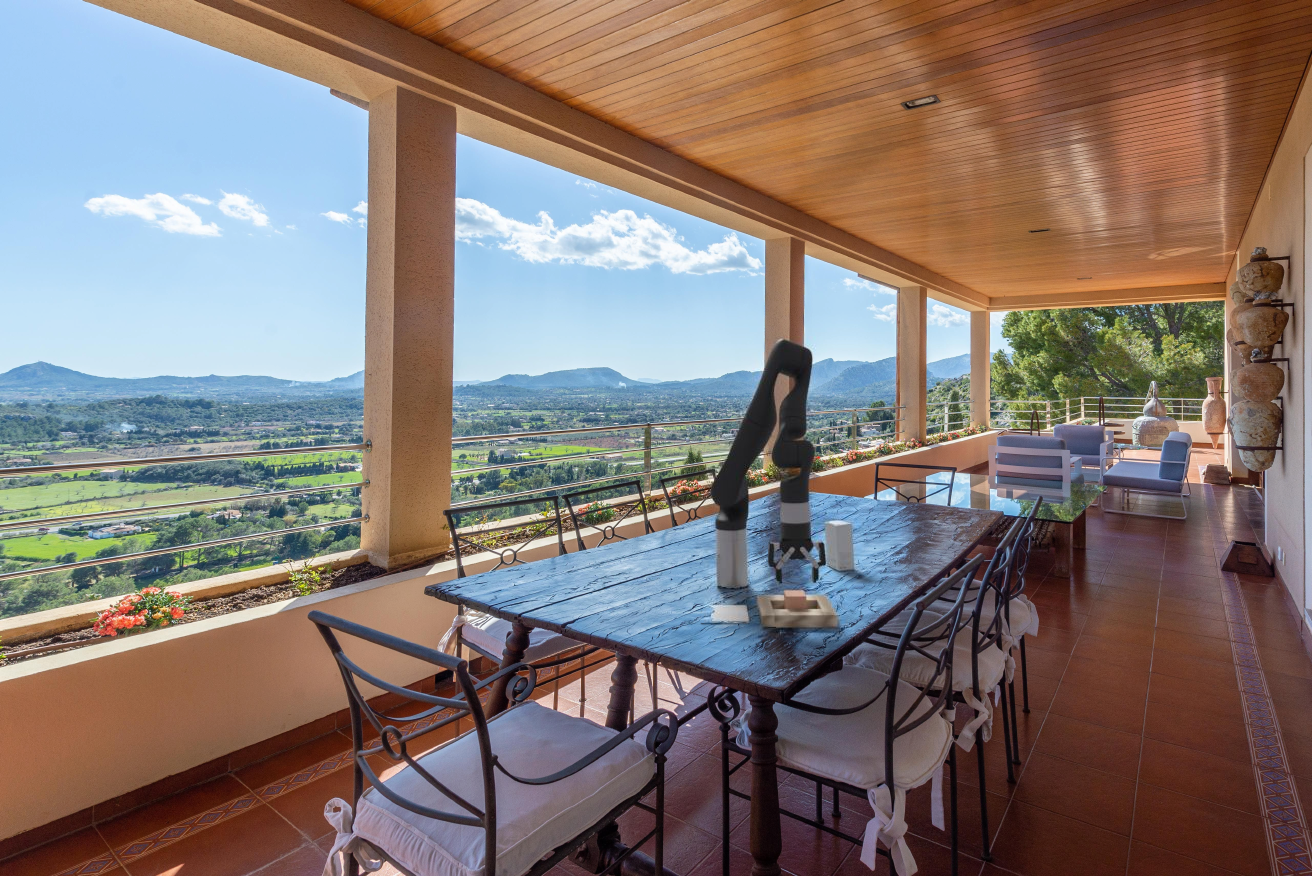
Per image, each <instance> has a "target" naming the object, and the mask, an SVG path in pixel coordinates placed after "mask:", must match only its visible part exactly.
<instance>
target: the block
mask: <svg viewBox="0 0 1312 876" xmlns="http://www.w3.org/2000/svg"><path fill="white" fill-rule="evenodd" d="M783 595H784V609H807V600H806V595H807V594H806V593H805V590H801V589H800V590H799V589H798V590H795V589H793V590H787V589H786V590H783Z"/></svg>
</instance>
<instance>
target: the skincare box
mask: <svg viewBox="0 0 1312 876" xmlns="http://www.w3.org/2000/svg"><path fill="white" fill-rule="evenodd" d="M824 535H825V538H824V539H825V556H826V566H827V567H829V566H830V567H829V568H832V569H834V570H836V571H838V572H841V571H842V572H843V571H853V570H855V553H854V552H855V551H854V539H853V538H854V536H853V524H852V523H850V522H847V521H844V520H840V519H839V520H829V521H824Z"/></svg>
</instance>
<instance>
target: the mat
mask: <svg viewBox="0 0 1312 876" xmlns="http://www.w3.org/2000/svg"><path fill="white" fill-rule="evenodd" d="M709 606H711V607H713V608H715V609H713V610H715V613H712V614H711V618H713V620H712V621H723V622H724V621H728V622H730V621H731V622H748V623H747V624H750V618H749V613H748V607H747V605H746V604H745V605H742V604H737V605H736V604H734V605H733V604H732V605H725V604H724V605H722V604H721V605H714V604H713V605H709Z"/></svg>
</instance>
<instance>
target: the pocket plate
mask: <svg viewBox="0 0 1312 876" xmlns="http://www.w3.org/2000/svg"><path fill="white" fill-rule="evenodd" d="M756 596H757V597H756V599H757V610H759V611H758V615H759V618H760V619H759V620H760V624H761V628H762V627H776V628H838V627H839V626H838V625H839V624H838V623H839V621H838V620H839V619H838V617H839V616H838V613H837V612H836V610H835V608H834V606H833V605H832V603H831V602H830V600H829V598H828V596H827V594H806V600H807V609H784V594H762V595H761V594H758V595H756Z"/></svg>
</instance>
